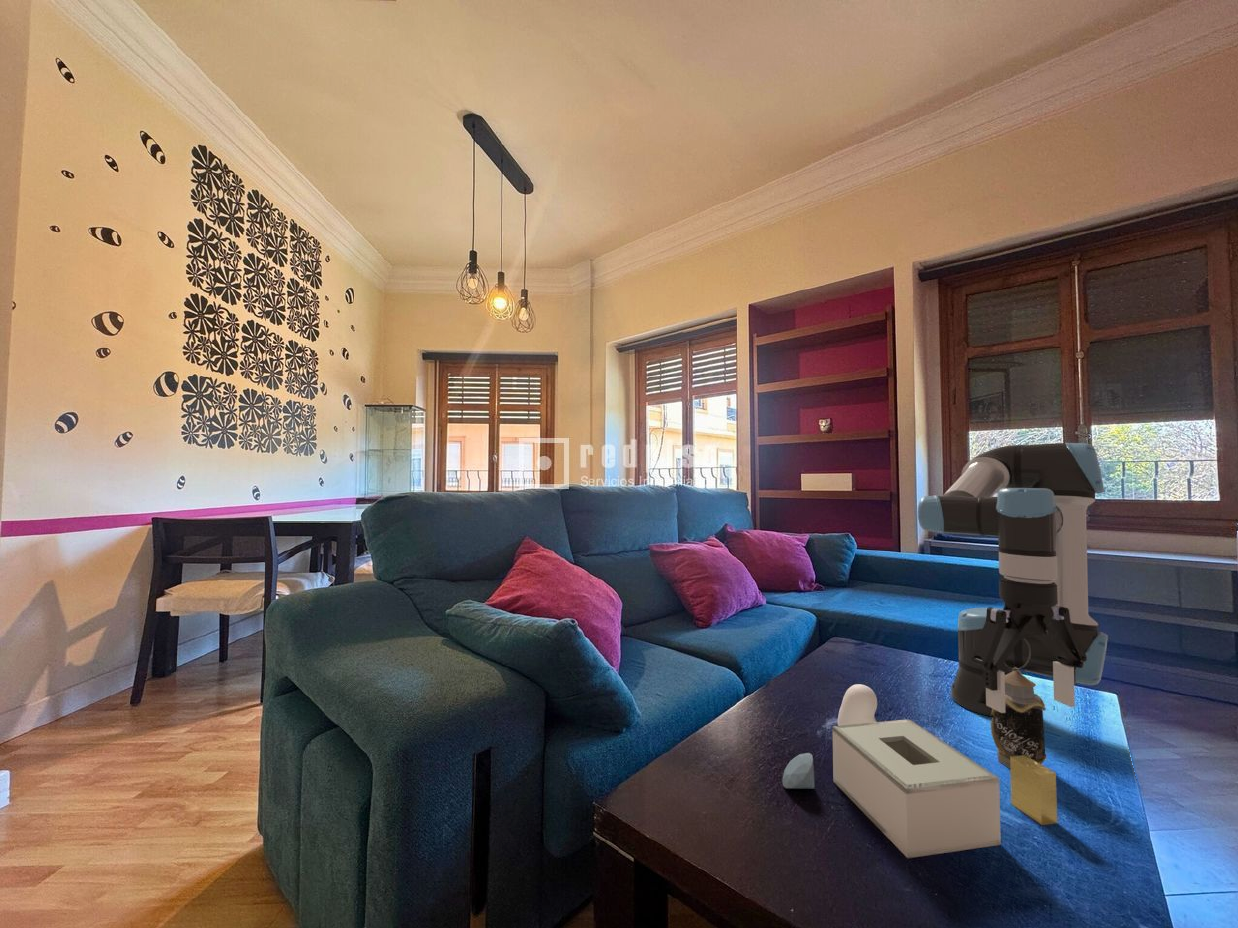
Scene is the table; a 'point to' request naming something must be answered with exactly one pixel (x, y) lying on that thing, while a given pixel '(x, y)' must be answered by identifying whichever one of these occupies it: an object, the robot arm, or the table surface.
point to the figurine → (858, 706)
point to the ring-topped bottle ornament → (1019, 720)
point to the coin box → (916, 787)
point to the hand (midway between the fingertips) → (1030, 706)
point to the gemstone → (799, 772)
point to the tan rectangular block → (1033, 789)
